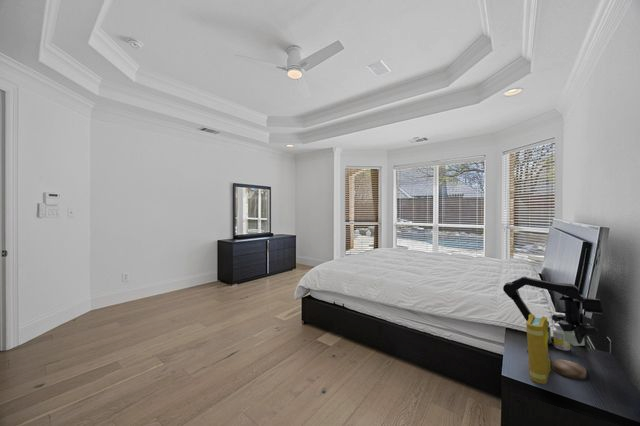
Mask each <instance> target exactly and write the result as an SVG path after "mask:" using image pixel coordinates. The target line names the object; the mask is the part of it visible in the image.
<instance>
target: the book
mask: <svg viewBox="0 0 640 426" xmlns="http://www.w3.org/2000/svg"><path fill="white" fill-rule="evenodd" d="M531 314H532V313H531ZM531 314H529V316H528V318H529V319H528V321H526V338H527V340H526V341H527V350H528V351H527V352H528V353H527V354H528V366H529V367H528V368H529V379H530V378H531V379H532V380H533V382H534V381H535V382H534V383H537V384H540V383H541V384H540V385H545V384H547V383H548V382H547V381H548V377H549V374H550V373H551V371H552V370H551V369H552V365H551V359H550V358H549V344H548V329H547V328H548V323H547V321H548V317H547V316H541V317H535V314H532V315H531ZM531 379H530V380H531ZM532 380H531V381H532ZM544 383H545V384H544Z"/></svg>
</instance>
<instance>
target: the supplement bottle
mask: <svg viewBox="0 0 640 426" xmlns="http://www.w3.org/2000/svg"><path fill="white" fill-rule="evenodd" d="M552 337H553V346H554V348H556V349H558V350H561V351H570V350H571V344H570V343H568V342H566V341H565V334H564V331H563V330H562V328H561V327H560V325H559V324H558V322H557V323H554V327H553V329H552Z"/></svg>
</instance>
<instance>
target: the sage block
mask: <svg viewBox="0 0 640 426" xmlns="http://www.w3.org/2000/svg"><path fill="white" fill-rule="evenodd" d="M564 334H565V341H566V342H568V343H570V345H572V346H575V347H576V346H577V347H578V346H586V345H585V343H586V342H585V337H584V338H583V341H582V343H581V344H578V342H577V339H576V336H575V333H574V330H571V331H564Z"/></svg>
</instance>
